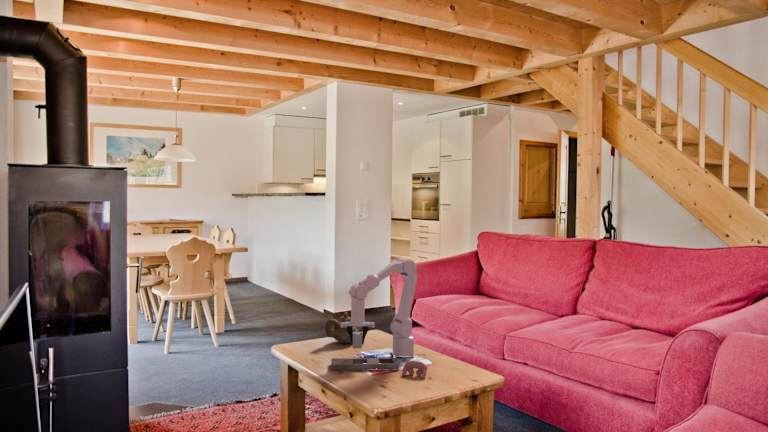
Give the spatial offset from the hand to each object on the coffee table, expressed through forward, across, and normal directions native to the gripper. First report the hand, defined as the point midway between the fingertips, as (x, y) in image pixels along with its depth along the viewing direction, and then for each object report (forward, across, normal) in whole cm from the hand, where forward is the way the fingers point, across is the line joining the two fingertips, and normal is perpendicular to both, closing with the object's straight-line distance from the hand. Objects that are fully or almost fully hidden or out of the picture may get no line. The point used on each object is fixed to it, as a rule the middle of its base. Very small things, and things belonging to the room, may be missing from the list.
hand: (357, 343), depth 239 cm
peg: (+2, 0, 0) cm, 2 cm away
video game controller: (+9, -23, +16) cm, 29 cm away
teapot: (+9, +5, -30) cm, 31 cm away
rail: (+8, -3, +5) cm, 10 cm away
